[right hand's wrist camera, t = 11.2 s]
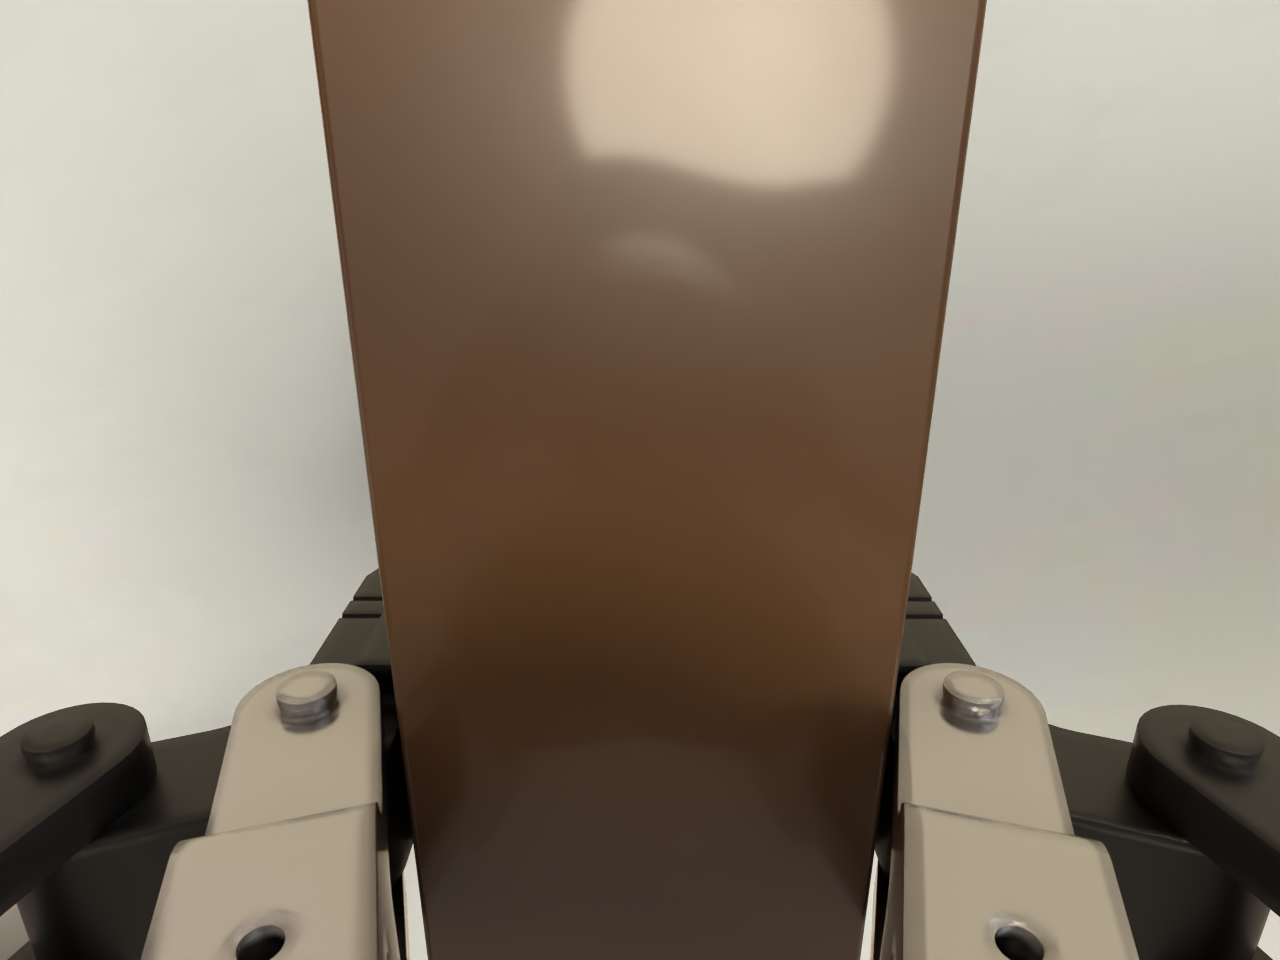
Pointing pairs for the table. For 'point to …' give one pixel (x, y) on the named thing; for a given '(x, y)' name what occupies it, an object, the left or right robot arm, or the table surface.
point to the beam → (645, 444)
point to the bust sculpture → (11, 933)
